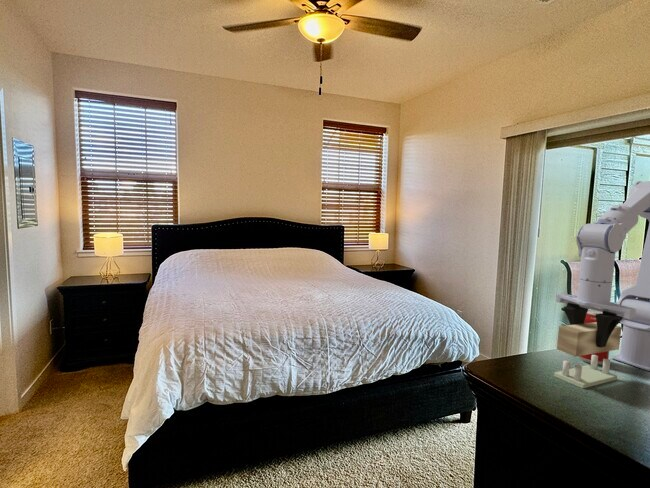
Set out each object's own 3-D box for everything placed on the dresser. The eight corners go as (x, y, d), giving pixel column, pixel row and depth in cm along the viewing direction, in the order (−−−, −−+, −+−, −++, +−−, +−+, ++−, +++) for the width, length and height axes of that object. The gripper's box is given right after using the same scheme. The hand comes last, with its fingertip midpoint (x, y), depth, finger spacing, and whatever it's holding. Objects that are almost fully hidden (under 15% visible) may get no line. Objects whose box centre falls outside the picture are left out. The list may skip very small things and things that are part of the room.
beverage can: (577, 362, 87) (582, 313, 86) (574, 353, 93) (578, 307, 92) (610, 368, 84) (616, 317, 83) (604, 359, 90) (609, 311, 89)
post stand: (587, 368, 84) (589, 352, 83) (617, 379, 78) (618, 362, 78) (553, 375, 79) (555, 359, 78) (582, 388, 73) (584, 370, 73)
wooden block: (599, 342, 82) (601, 321, 82) (618, 349, 79) (621, 327, 78) (556, 349, 77) (559, 326, 77) (575, 356, 74) (578, 332, 73)
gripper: (549, 275, 82) (544, 333, 83) (624, 288, 68) (616, 357, 70) (569, 274, 85) (563, 330, 86) (644, 286, 71) (636, 353, 73)
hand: (588, 342), depth 78 cm, fingers closed on wooden block, 4 cm apart
